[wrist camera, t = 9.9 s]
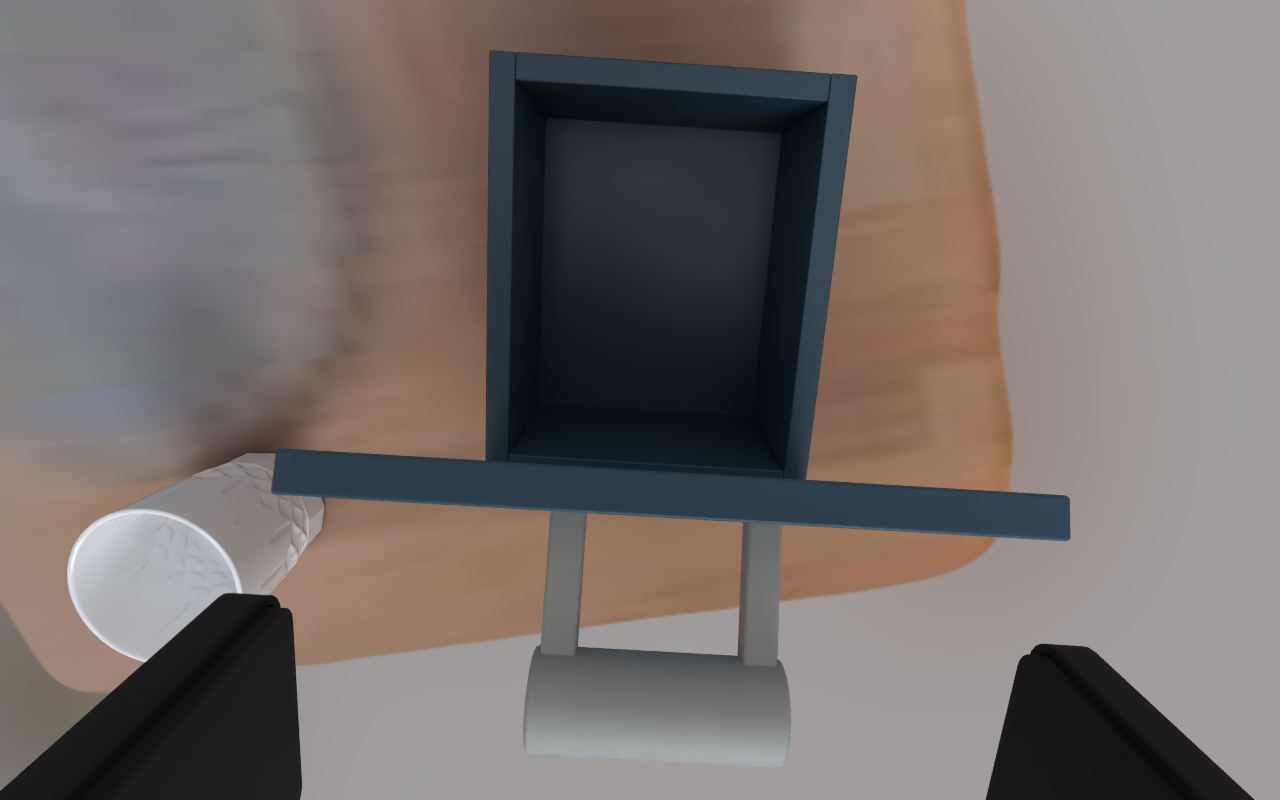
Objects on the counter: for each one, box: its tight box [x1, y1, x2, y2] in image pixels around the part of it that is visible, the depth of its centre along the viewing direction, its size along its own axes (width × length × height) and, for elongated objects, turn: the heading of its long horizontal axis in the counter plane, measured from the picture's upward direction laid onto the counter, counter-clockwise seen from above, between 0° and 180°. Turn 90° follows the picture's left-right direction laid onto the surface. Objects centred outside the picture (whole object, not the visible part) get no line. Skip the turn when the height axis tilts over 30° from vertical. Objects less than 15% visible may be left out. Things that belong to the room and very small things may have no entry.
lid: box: [271, 449, 1070, 767], centre depth 21 cm, size 18×14×6 cm
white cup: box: [67, 453, 324, 662], centre depth 36 cm, size 8×8×10 cm
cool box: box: [485, 50, 857, 480], centre depth 33 cm, size 17×14×10 cm
